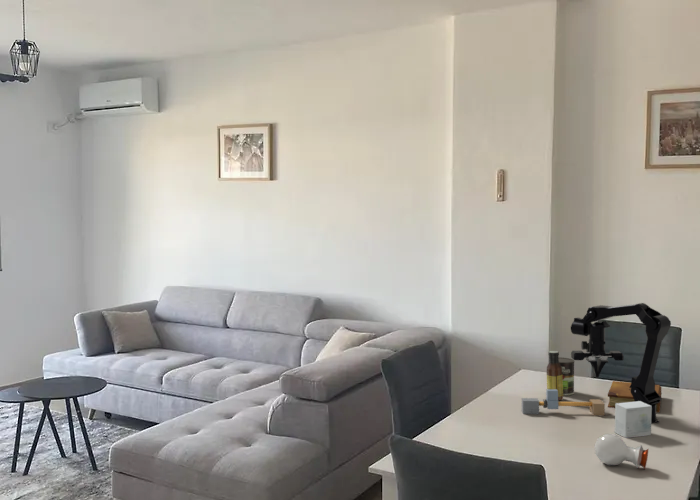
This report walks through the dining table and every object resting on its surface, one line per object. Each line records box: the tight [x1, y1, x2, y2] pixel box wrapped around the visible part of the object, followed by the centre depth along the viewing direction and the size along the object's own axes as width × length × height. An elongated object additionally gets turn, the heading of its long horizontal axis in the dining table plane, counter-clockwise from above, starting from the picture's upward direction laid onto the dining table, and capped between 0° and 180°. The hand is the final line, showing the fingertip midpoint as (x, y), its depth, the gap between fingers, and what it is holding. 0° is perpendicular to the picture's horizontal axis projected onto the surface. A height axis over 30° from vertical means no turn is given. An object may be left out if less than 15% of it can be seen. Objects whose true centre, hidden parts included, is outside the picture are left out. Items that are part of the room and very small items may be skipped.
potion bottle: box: [594, 433, 649, 470], centre depth 206 cm, size 9×10×15 cm
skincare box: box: [613, 401, 652, 439], centre depth 235 cm, size 10×6×10 cm, turn 105°
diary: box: [607, 380, 662, 413], centre depth 273 cm, size 23×19×6 cm
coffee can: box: [558, 356, 575, 396], centre depth 289 cm, size 10×10×14 cm
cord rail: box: [521, 397, 606, 417], centre depth 260 cm, size 30×6×5 cm, turn 84°
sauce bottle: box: [546, 350, 564, 402], centre depth 279 cm, size 7×6×20 cm
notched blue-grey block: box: [545, 388, 559, 410], centre depth 261 cm, size 4×3×7 cm
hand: (596, 377), depth 266 cm, fingers closed
